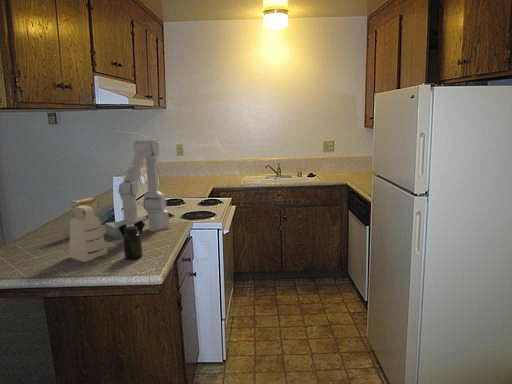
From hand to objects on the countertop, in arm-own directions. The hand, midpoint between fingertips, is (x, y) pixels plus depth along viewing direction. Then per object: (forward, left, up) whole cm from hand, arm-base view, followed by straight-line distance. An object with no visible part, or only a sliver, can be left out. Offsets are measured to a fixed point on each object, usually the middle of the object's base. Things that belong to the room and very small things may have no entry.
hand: (132, 240), depth 187 cm
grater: (+20, +2, -2) cm, 20 cm away
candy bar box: (+8, -31, -2) cm, 32 cm away
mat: (0, -10, -1) cm, 11 cm away
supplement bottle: (+8, +17, -2) cm, 19 cm away
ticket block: (0, -17, -1) cm, 17 cm away
